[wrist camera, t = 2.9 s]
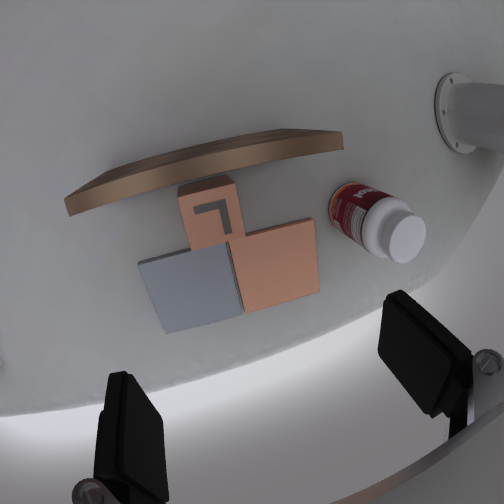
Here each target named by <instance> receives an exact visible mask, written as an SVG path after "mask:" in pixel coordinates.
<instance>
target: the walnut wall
mask: <svg viewBox="0 0 504 504" xmlns="http://www.w3.org/2000/svg"><path fill="white" fill-rule="evenodd" d="M336 150H344V146H343V137H342V132H338V131H324V130H307V129H277V130H271V131H265V132H259V133H253V134H248V135H242V136H237V137H232V138H227V139H222V140H218V141H213V142H209V143H204V144H200V145H196V146H192V147H188V148H184V149H180V150H176V151H172V152H168V153H165V154H161V155H157V156H154V157H150V158H147V159H143V160H140V161H137V162H134V163H130V164H127V165H124V166H121V167H118V168H115V169H112V170H109V171H107V172H105V173H103V174H102V175H100V176H98V177H97V178H95V179H93V180H92V181H90V182H89V183H87V184H85V185H84V186H82V187H81V188H79V189H78V190H76V191H75V192H73V193H71V194H70V195H68V196H67V197H66V198H64V201H65V204H66V208H67V211H68V214H69V217H70V216H73V215H76V214H78V213H81V212H84V211H87V210H90V209H93V208H96V207H99V206H102V205H105V204H108V203H111V202H114V201H117V200H120V199H124V198H127V197H130V196H133V195H137V194H140V193H144V192H147V191H150V190H154V189H157V188H161V187H165V186H168V185H172V184H176V183H179V182H183V181H187V180H191V179H195V178H199V177H203V176H207V175H211V174H215V173H220V172H224V171H228V170H233V169H237V168H242V167H247V166H251V165H256V164H261V163H266V162H271V161H277V160H282V159H287V158H293V157H299V156H304V155H310V154H317V153H323V152H330V151H336Z"/></svg>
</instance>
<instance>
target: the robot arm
mask: <svg viewBox="0 0 504 504" xmlns="http://www.w3.org/2000/svg"><path fill="white" fill-rule="evenodd" d="M435 108H436V117H437V122H438V126H439V129H440V132H441V134H442V137H443V138H444V140H445V142H446V143H447V145H448V146H449V147H450V148H451V149H452V150H454V151H455V152H458V153H461V154H469V153H471V152H473V151H474V150H475V149H476V148H477V147H480V148H484V149H488V150H492V151H496V152H500V153H504V85H497V84H482V83H473V82H472V81H471V80H470V79H469V78H468V77H467V76H465V75H463V74H461V73H449V74H447V75H445V76H444V77H443V78H442V80H441V81H440V83H439V85H438V88H437V93H436V101H435ZM378 354H379V356H380V358H381V359H382V360H383V362H384V363H385V364H386V365H387V367H388V368H389V369H390V370H391V371H392V373H393V374H394V375H395V377H396V378H397V379H398V380H399V382H400V383H401V384H402V386H403V387H404V388H405V389H406V390H407V392H408V393H409V395H410V396H411V397H412V398H413V400H414V401H415V402H416V404H417V405H418V406H419V407H420V409H421V410H422V411H423V413H425V414H429V415H430V417H431V418H432V419H433V418H434V417H436V416H437V415H438V414H440V413H442V412H443V413H444V414H445V415H446V424H445V435H444V442H443V444H442V445H440V446H439V447H438V448H436V449H435V450H433V451H432V452H430V453H429V454H427V455H426V456H424V457H422V458H421V459H419V460H418V461H416V462H414V463H413V464H411V465H409V466H407V467H406V468H404V469H402V470H400V471H399V472H397V473H395V474H393V475H391V476H389V477H388V478H386V479H384V480H382V481H380V482H378V483H376V484H374V485H372V486H370V487H368V488H366V489H363V490H361V491H359V492H357V493H355V494H352V495H350V496H348V497H345V498H343V499H340V500H338V501H335V502H333V503H330V504H504V359H503V357H502V356H501V355H500V354H499V353H498V352H496V351H494V350H491V349H482V350H480V351H478V352H477V353H476V354H475V355H474V356H473V355H472V354H471V351H470V350H469V349H468V348H467V347H466V346H465V345H464V344H463V343H462V342H461V341H459V340H458V338H456V337H455V336H454V335H453V334H452V333H451V332H450V331H449V330H448V329H447V328H446V327H444V326H443V325H442V324H441V323H440V322H439V321H438V320H437V319H436V318H434V317H433V316H432V315H431V314H430V313H429V312H428V311H426V310H425V309H424V308H423V307H422V306H421V305H420V304H418V303H417V302H416V301H415V300H414V299H413V298H411V297H410V296H409V295H408V294H407V293H406V292H404V291H403V290H398V291H395V292H393V293H390V294H388V295H387V296H386V300H384V302H383V311H382V320H381V329H380V337H379V344H378ZM168 501H169V491H168V482H167V472H166V460H165V447H164V429H163V420H162V418H161V415H160V414H159V413H158V411H157V410H156V409H155V407H154V406H153V404H152V403H151V401H150V400H149V399H148V397H147V396H146V394H145V393H144V391H143V390H142V388H141V387H140V385H139V384H138V382H137V381H136V379H135V378H134V376H133V375H132V374H128V373H127V372H126V371H121V372H115V373H110V374H109V378H108V384H107V390H106V396H105V403H104V410H103V411H101V413H100V416H99V422H98V430H97V440H96V450H95V460H94V475H93V478H87V479H83V480H82V481H79V482H78V483H77V484H76V485H75V487H74V489H73V491H72V502H73V504H166V502H168Z"/></svg>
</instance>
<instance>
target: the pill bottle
mask: <svg viewBox="0 0 504 504" xmlns="http://www.w3.org/2000/svg"><path fill="white" fill-rule="evenodd" d="M329 214H330V218H331V221H332V223H333V225H334V226H335V227H336V228H337V229H338V230H339V231H341V232H342V233H344V234H345V235H346V236H348V237H349V238H351V239H352V240H353V241H355V242H356V243H358V244H359V245H360V246H362V247H363V248H364V249H366V250H367V251H368V252H370V253H371V254H373V255H374V256H376V257H379V258H390V259H392V260H393V261H395V262H397V263H400V264H403V263H407V262H409V261H411V260H413V259H414V258H415V257H416V256H417V255H418V253H419V252H420V250H421V249H422V247H423V244H424V242H425V238H426V227H425V223H424V221H423V220H422V219H421V218H420V217H419V216H417V215H415V214H413V213H412V211H411V209H410V207H409V206H408V205H407V204H406V203H405V202H404V201H402V200H400V199H398V198H396V197H393V196H391V195H389V194H386V193H384V192H381V191H378V190H376V189H373V188H371V187H368V186H366V185H363V184H360V183H355V182H353V183H348V184H345V185H343V186H342V187H340V188H339V189H338V190H337V191H336V192H335V193H334V195H333V197H332V199H331V202H330V206H329Z"/></svg>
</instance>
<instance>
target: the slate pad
mask: <svg viewBox="0 0 504 504" xmlns="http://www.w3.org/2000/svg"><path fill="white" fill-rule="evenodd" d="M138 267H139V270H140V273H141V275H142V278H143V280H144V283H145V286H146V288H147V291H148V293H149V295H150V298H151V300H152V303H153V305H154V308H155V310H156V312H157V315H158V317H159V319H160V322H161V324H162V326H163V328H164V331H165V333H166V334H169V333H173V332H177V331H181V330H185V329H189V328H193V327H197V326H201V325H205V324H209V323H213V322H217V321H220V320H224V319H228V318H232V317H235V316H239V315H242V311H241V307H240V303H239V299H238V294H237V290H236V286H235V282H234V278H233V274H232V270H231V266H230V261H229V257H228V253H227V249H226V244H225V242H224V243H221V244H217V245H213V246H209V247H205V248H202V249H198V250H194V251H192V250H191V248H189V249H185V250H182V251H178V252H174V253H170V254H167V255H163V256H159V257H156V258H152V259H148V260H145V261H141V262H139V263H138Z"/></svg>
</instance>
